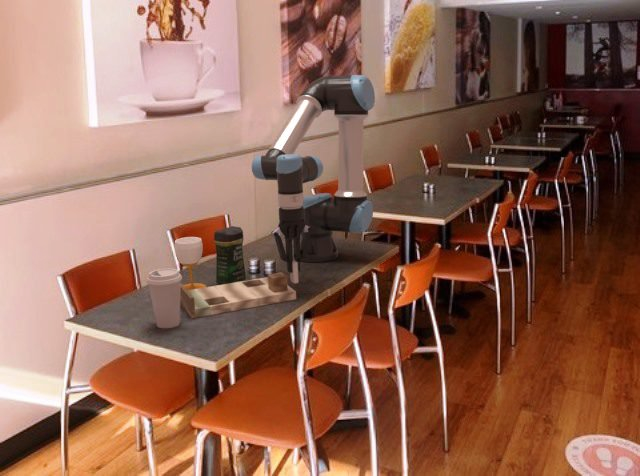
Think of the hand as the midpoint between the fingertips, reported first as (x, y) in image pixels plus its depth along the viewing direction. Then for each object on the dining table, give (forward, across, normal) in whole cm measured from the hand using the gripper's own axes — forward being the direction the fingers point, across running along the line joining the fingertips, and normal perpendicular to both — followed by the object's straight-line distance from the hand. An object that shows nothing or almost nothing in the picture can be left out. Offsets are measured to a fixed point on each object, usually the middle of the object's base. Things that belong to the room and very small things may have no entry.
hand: (294, 281), depth 209 cm
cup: (+4, -26, +23) cm, 35 cm away
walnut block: (+2, -6, 0) cm, 6 cm away
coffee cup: (+4, -40, -5) cm, 41 cm away
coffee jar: (+4, -13, +22) cm, 26 cm away
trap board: (+4, -17, +5) cm, 18 cm away
